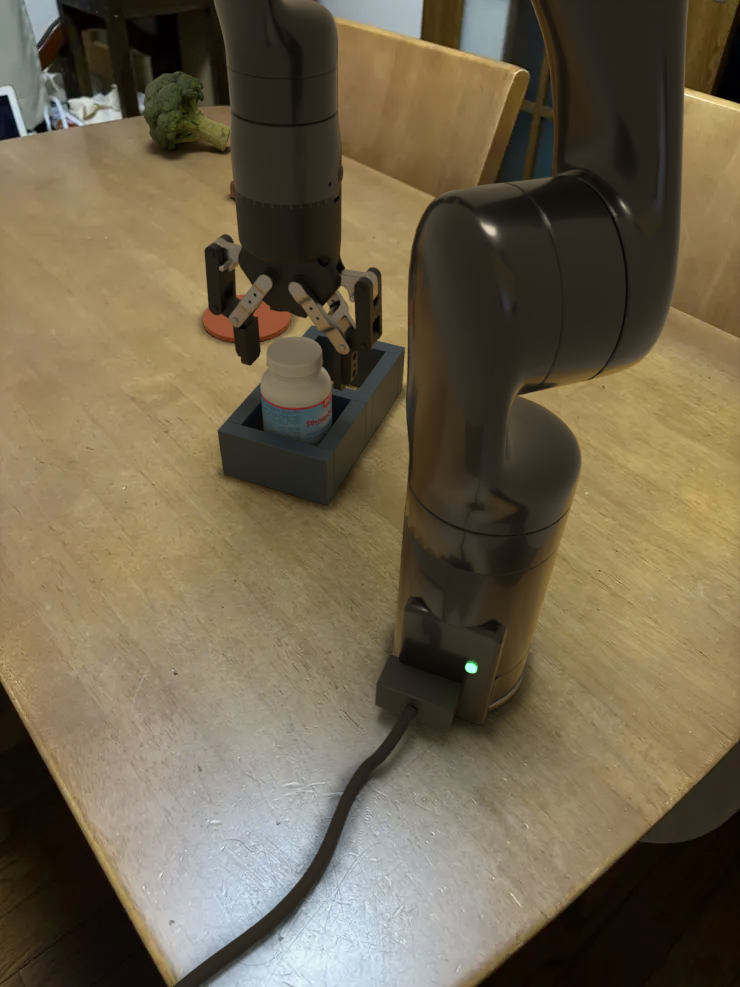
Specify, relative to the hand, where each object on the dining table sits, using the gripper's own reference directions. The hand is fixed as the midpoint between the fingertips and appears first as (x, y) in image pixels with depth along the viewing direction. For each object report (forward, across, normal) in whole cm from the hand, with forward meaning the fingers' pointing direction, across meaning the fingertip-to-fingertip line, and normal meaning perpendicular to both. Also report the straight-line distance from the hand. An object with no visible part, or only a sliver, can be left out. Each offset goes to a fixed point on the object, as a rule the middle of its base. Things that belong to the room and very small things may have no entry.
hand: (296, 372), depth 63 cm
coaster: (+9, -16, +19) cm, 26 cm away
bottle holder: (+9, 0, +4) cm, 10 cm away
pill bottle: (+9, 0, 0) cm, 9 cm away
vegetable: (+10, -52, +65) cm, 84 cm away
